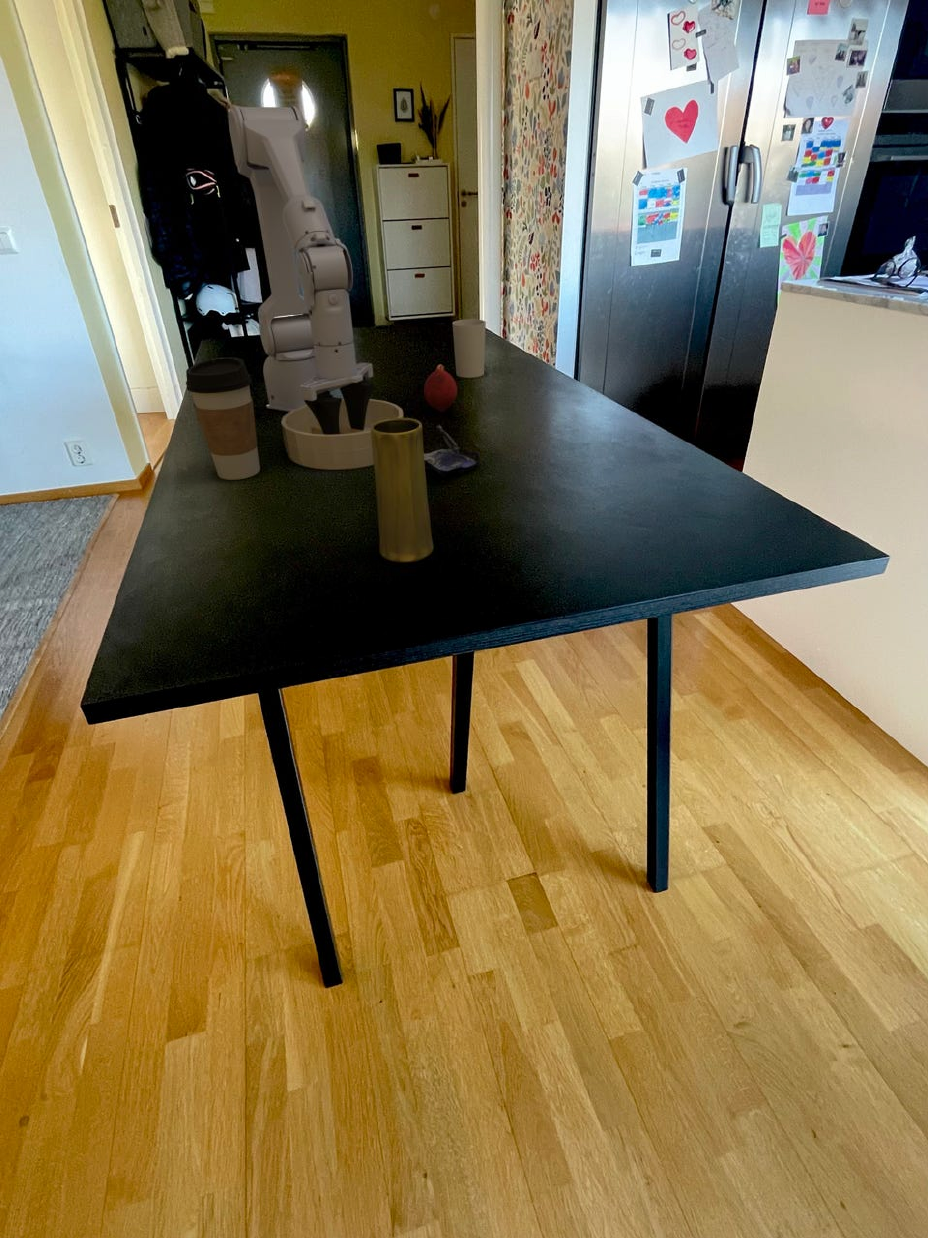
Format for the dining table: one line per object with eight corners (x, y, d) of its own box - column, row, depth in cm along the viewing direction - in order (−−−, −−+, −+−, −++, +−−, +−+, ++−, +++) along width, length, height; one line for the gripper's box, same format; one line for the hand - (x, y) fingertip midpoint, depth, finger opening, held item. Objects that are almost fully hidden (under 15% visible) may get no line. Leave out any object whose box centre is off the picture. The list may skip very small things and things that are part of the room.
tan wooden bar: (312, 440, 105) (310, 426, 103) (321, 436, 106) (319, 422, 105) (374, 452, 100) (373, 437, 98) (383, 447, 101) (381, 433, 100)
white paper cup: (486, 377, 136) (485, 325, 130) (453, 378, 136) (452, 326, 130) (486, 369, 141) (485, 318, 135) (454, 370, 141) (453, 319, 136)
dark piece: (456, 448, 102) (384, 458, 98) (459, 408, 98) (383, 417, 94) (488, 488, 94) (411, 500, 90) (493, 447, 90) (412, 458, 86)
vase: (380, 539, 77) (367, 417, 69) (432, 536, 78) (425, 414, 69) (378, 565, 72) (364, 436, 64) (435, 561, 72) (427, 433, 64)
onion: (453, 417, 114) (452, 369, 110) (421, 416, 115) (418, 368, 111) (460, 407, 119) (459, 361, 115) (429, 406, 120) (427, 360, 116)
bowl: (262, 457, 101) (255, 425, 98) (337, 423, 114) (333, 393, 111) (358, 477, 93) (354, 443, 90) (427, 438, 106) (425, 406, 103)
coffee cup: (280, 464, 98) (260, 358, 90) (247, 486, 91) (222, 373, 83) (232, 459, 100) (208, 355, 92) (196, 479, 94) (167, 370, 85)
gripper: (322, 355, 88) (336, 454, 95) (385, 334, 98) (393, 425, 106) (282, 350, 91) (298, 447, 98) (347, 330, 101) (358, 419, 109)
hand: (345, 435), depth 102 cm, fingers open, 6 cm apart
